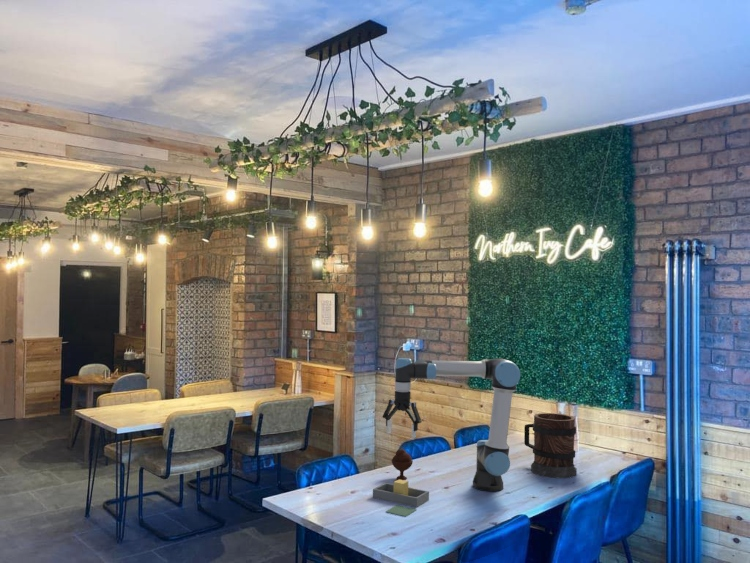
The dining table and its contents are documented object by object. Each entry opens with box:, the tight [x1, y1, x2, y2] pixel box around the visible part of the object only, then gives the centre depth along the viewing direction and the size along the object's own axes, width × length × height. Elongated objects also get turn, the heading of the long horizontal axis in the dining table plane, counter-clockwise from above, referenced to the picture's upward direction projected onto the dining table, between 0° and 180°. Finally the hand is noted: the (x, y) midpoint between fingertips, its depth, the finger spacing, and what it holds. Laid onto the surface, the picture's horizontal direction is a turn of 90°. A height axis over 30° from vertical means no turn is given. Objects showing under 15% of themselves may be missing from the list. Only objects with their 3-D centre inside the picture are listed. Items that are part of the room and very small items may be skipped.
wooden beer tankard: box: [523, 412, 578, 479], centre depth 341 cm, size 24×30×30 cm
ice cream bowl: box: [391, 448, 414, 481], centre depth 319 cm, size 11×11×15 cm
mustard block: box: [393, 479, 409, 496], centre depth 285 cm, size 5×5×8 cm
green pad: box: [385, 504, 418, 518], centre depth 269 cm, size 10×10×1 cm
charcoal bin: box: [372, 482, 430, 509], centre depth 285 cm, size 23×12×4 cm, turn 59°
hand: (401, 435), depth 294 cm, fingers open, 13 cm apart
